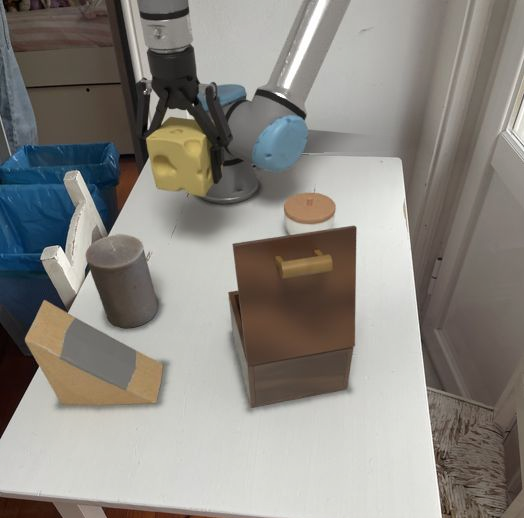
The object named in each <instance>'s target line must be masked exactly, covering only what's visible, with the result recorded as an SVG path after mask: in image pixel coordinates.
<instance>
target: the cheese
mask: <svg viewBox="0 0 524 518" xmlns="http://www.w3.org/2000/svg"><path fill="white" fill-rule="evenodd" d="M211 121H212V122H213V124H214V121H213V120H211ZM214 125H215V124H214ZM215 127H216V126H215ZM145 141H146V149H147V153H148V157H149V162H150V163H149V164H150V167H151V171H152V176H153V180H154V183H155V187H156V189H157V190H161V191H167V192H180V191H184V190H185V192H186V194H187V195H193V196H197V197H200V196H202V197H204V196H205V195H206V193H207V192H208V190H209V188H210V187H211V186H212V185H213V174H212V166H211V158H210V148H211V147H212V144H211V143H210V141H209V140H208V138H207V137H206V135H205V134H204V132H203V131H202V129H201V128H200V126H199V125H198V123H197V122H196V120H195V119H194V118H193V119H192V118H183V117H177V116H176V117H175V116H169V117H168V118H166V120H164V121H163V122H162V124H161V126H160V127H159V128H158V129H157V130H156V131H155V132H154V133H152V134H151V135H150V136H149V137H147V138H146V140H145ZM222 169H223V164H222V166H221V172H222Z"/></svg>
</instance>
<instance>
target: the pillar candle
mask: <svg viewBox="0 0 524 518" xmlns="http://www.w3.org/2000/svg"><path fill="white" fill-rule="evenodd" d="M85 259H86V262H87V265H88V268H89V271H90V274H91V277H92V280H93V282H94V286H95V288H96V291H97V293H98V295H99V299H100V302H101V305H102V308H103V310H104V312H105V315H106V320H107V321H108V322H109V323H110V325H112V326H114V327H117V328H120V329H121V328H123V329H131V328H132V329H133V328H137V327H140V326H144V325H145V324H147V323H149V322H150V321H151V320H152V319H153V318H154V317H155V316H156V315H157V313H158V309H159V305H158V300H157V296H156V292H155V288H154V284H153V280H152V276H151V272H150V268H149V264H148V260H147V257H146V253H145V247H144V244H143V242H142V240H141V239H140V238H137V237H135V236H133V235H128V234H123V233H117V234H112V235H107V236H104V237H102V238H99V239H97V240H95V241H94V242H92V243H91V244H90V245H89V246H88V248H87V249H86V251H85Z"/></svg>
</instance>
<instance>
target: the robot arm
mask: <svg viewBox="0 0 524 518" xmlns="http://www.w3.org/2000/svg"><path fill="white" fill-rule="evenodd" d="M351 1H352V0H302V2H301V4H300V6H299V9H298V12H297V14H296V16H295V17H294V20H293V22H292V25H291V27H290V30H289V32H288V34H287V37H286V39H285V41H284V43H283V46H282V48H281V51H280V53H279V55H278V58H277V59H276V62H275V65H274V67H273V68H272V69H273V70H272V72H271V74H270V76H269V79H268V81H267V83H266V84H264V85H262V86H261V85H260V86H258V87H257V88H256V89H255V93H254V95H253V97H252V99H251V100H249V99H247V96H248V95H247V94H248V93H247V91H246V87H245V86H244V85H241V84H236V83H228V84H217V83H216V82H214V81H211V82H210V83H201V82H200V80H199V78H198V75H197V63H196V61H197V60H196V53H195V47H194V46H193V45H192V43H193V41H194V37H193V36H194V35H193V29H192V23H191V15H190V6H189V5H190V4H189V0H136V4H137V8H138V13H139V19H140V23H141V29H142V34H143V40H144V45H145V46H146V47H147V51H146V57H147V62H148V67H149V72H150V75H151V79H147V78H146V77H141V79H140V80H137V82H136V83H135V90H136V94H137V107H136V109H137V110H136V121H135V137H136V138H137V139H143V140H144V141H146V138H147V137H149V136H150V135H151V134H152V133H154V132H155V131H156V130H157V129H158V128H159V127H160V126H161V125H162V124H163V122H164V119H165V117H166V114H167V112H168V110H176V109H177V110H180V111H187V114H189V115H190V116H192V118H193V119H195V120H196V122H197V123H198V125H199V126H200V128H201V129H202V131H203V132H204V134H205V135H206V137H207V138H208V140H209V141H210V143H211V144H212V147H211V148H210V158H211V166H212V174H213V185H212V186H211V187H210V188H209V190H208V192H207V193H206V195H205V196H204V197H202V196H199V197H200V198H201V199H202V200H204V201H206V202H209V203H213V204H217V205H230V204H237V203H240V202H244V201H246V200H248V199H250V198H252V197H253V196H254V195H256V194H257V192H258V189H259V180H258V176H257V173H256V171H255V169H254V168H259V169H260V170H266V171H269V172H272V173H281V172H284V171H286V170H288V169H291V168H292V167H293V166H294V165H295V164H296V163H297V162H298V161H299V159H300V158H301V156H302V155H303V153H304V151H305V148H306V146H307V143H308V137H307V136H308V135H309V130H308V129H309V128H308V125H307V123H306V118H307V116H308V112H307V110H306V106H305V104H306V101H307V99H308V98H309V97H308V96H309V95H310V92H311V89H312V88H313V85H314V83H315V81H316V78H317V77H318V74H319V72H320V70H321V68H322V66H323V63H324V61H325V59H326V56H327V54H328V52H329V50H330V47H331V45H332V43H333V41H334V39H335V37H336V35H337V33H338V30H339V29H340V26H341V23H342V21H343V19H344V17H345V15H346V13H347V10H348V8H349V6H350V4H351ZM152 92H154V94H155V95H156V96H157V97H158V98H159V99H158V101H157V103H156V106H155V111H154V114H153V117H152V119H151V122H150V124H149V116H150V108H151V107H150V104H151V93H152ZM211 120H213V121H214V124H215V125H214V124H213V122H212V121H211ZM215 126H216V127H215ZM222 164H223V169H222V172H221V166H222Z"/></svg>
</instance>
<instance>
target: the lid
mask: <svg viewBox="0 0 524 518" xmlns="http://www.w3.org/2000/svg"><path fill="white" fill-rule="evenodd" d="M357 229H358V228H357V226H356V225H348V226H342V227H341V226H340V227H335V228H331V229H327V230H320V231H314V232H307V233H300V234H294V235H290V234H288V235H281V236H274V237H268V238H260V239H254V240H248V241H241V242H233V243H232V253H233V260H234V268H235V269H234V270H235V276H236V284H237V291H238V294H239V302H240V310H241V318H242V326H243V334H244V342H245V351H246V359H247V364H248V366H250V365H256V364H261V363H267V362H272V361H278V360H283V359H289V358H294V357H300V356H305V355H311V354H316V353H322V352H327V351H333V350H338V349H344V348H349V347H356V301H357V300H356V297H357V296H356V294H357V293H356V292H357V290H356V288H357V235H358V233H357V231H358V230H357Z"/></svg>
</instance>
